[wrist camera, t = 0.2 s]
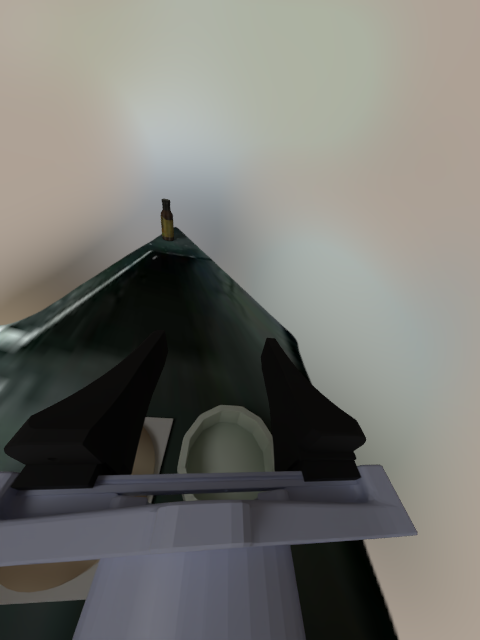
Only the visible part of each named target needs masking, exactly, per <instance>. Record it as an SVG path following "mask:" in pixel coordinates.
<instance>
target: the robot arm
mask: <svg viewBox="0 0 480 640" xmlns="http://www.w3.org/2000/svg"><path fill="white" fill-rule="evenodd" d="M167 353H168V348H167V341H166V335H165V331H162V330H155V331H154V332H153V333H152V334H151V335H150V336H149V337H148V338H147V339H146V340H145V341H144V342H143V343H142V344H141V345H140V346H138V347H137V348H136V349H135V350H134V351H133V352H132V353H131V354H130V355H129V356H127V357H126V358H125V359H124V360H123V361H121V362H120V363H119V364H118V365H116V366H115V367H114V368H113V369H111V370H110V371H108V372H107V373H106V374H104V375H103V376H101V377H100V378H98V379H97V380H95V381H94V382H92V383H91V384H89V385H88V386H86V387H84V388H83V389H81V390H79V391H78V392H76V393H74V394H73V395H71V396H69V397H67V398H65V399H64V400H62V401H60V402H58V403H56V404H54V405H52V406H50V407H48V408H46V409H44V410H42V411H40V412H38V413H36V414H34V415H32V416H31V417H30V418H29V419H28V420H27V421H26V422H25V423H24V425H23V426H22V427H21V428H20V429H19V431H18V432H17V433H16V434H15V435H14V437H13V438H12V439H11V440H10V441H9V442H8V444H7V445H6V446H5V448H4V451H5V453H6V454H7V455H8V456H10V457H12V458H14V459H16V460H18V461H19V462H21V463H23V464H25V465H26V466H25V467H24V469H23V470H22V471H21V473H18V472H0V567H2V566H16V565H29V564H43V563H56V562H70V561H84V560H98V559H100V560H99V563H98V566H97V569H96V572H95V575H94V578H93V581H92V584H91V586H90V589H89V592H88V595H87V598H86V601H85V604H84V607H83V610H82V613H81V616H80V619H79V622H78V624H77V627H76V630H75V633H74V636H73V639H72V640H306V637H305V631H304V625H303V619H302V613H301V607H300V601H299V595H298V589H297V583H296V577H295V571H294V565H293V559H292V553H291V547H290V545H298V544H311V543H324V542H337V541H350V540H363V539H376V538H389V537H400V536H413V535H417V531H416V529H415V527H414V525H413V523H412V521H411V520H410V518H409V516H408V514H407V512H406V510H405V508H404V506H403V505H402V503H401V501H400V499H399V497H398V495H397V493H396V491H395V490H394V488H393V486H392V484H391V482H390V480H389V478H388V476H387V475H386V473H385V471H384V469H383V467H382V466H381V465H360V466H356V464H355V461H354V460H355V459H356V456H355V454H354V452H353V451H354V450H356V449H357V448H359V447H360V446H362V445H363V444H364V443H365V441H366V437H365V435H364V433H363V432H362V429H361V428H360V426H359V424H358V422H357V421H356V420H355V419H353V418H352V417H351V416H349V415H348V414H347V413H345V412H344V411H342V410H341V409H340V408H338V407H337V406H336V405H335V404H333V403H332V402H331V401H329V400H328V399H327V398H326V397H325V396H324V395H322V394H321V393H320V392H319V391H318V390H317V389H316V388H315V387H314V386H313V385H312V384H311V383H310V382H309V381H308V380H307V379H306V378H305V377H304V376H303V375H302V374H301V373H300V372H299V370H298V369H297V368H296V367H295V365H294V364H293V363H292V362H291V360H290V359H289V358H288V356H287V355H286V354H285V352H284V351H283V349H282V348H281V347H280V345H279V344H278V342H277V341H276V339H275V338H267V339H266V342H265V345H264V349H263V352H262V355H261V363H262V371H263V376H264V381H265V386H266V390H267V395H268V400H269V407H270V415H271V425H272V437H273V450H274V470H275V472H235V473H190V474H145V475H131V474H132V470H133V466H134V461H135V457H136V453H137V448H138V444H139V440H140V436H141V432H142V429H143V425H144V421H145V417H146V414H147V410H148V407H149V404H150V400H151V397H152V395H153V392H154V390H155V387H156V385H157V382H158V380H159V377H160V375H161V372H162V370H163V367H164V365H165V361H166V357H167ZM258 491H266V492H260V493H258V498H256V499H254V500H196V501H181V502H170V503H160V504H151V503H149V502H148V499H147V497H135V496H146V495H174V494H202V493H230V492H258Z"/></svg>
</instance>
